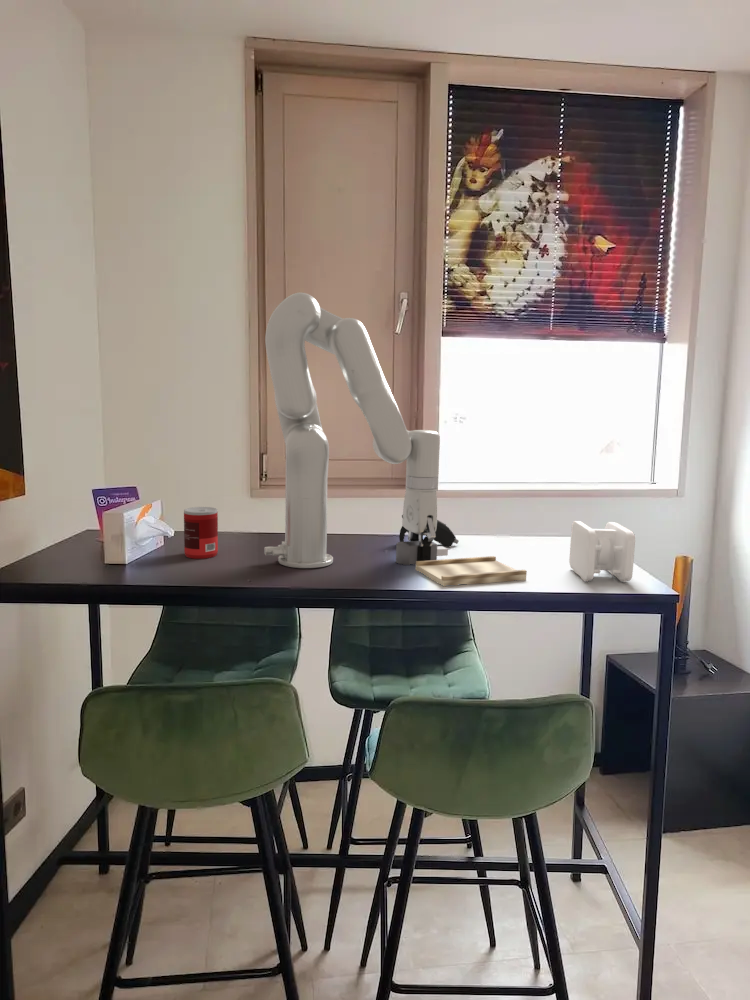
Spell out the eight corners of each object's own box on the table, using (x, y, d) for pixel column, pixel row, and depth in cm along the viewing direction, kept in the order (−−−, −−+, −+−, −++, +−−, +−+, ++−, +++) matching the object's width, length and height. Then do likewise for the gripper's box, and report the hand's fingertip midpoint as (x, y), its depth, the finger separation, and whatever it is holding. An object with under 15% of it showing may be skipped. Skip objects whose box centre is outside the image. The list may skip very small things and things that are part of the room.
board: (443, 586, 147) (443, 577, 147) (415, 569, 160) (415, 561, 159) (526, 579, 154) (526, 570, 154) (493, 564, 167) (493, 556, 167)
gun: (444, 567, 185) (463, 534, 184) (390, 538, 184) (408, 505, 183) (443, 565, 188) (462, 532, 187) (390, 535, 187) (408, 503, 186)
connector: (400, 565, 164) (400, 546, 163) (392, 560, 168) (393, 542, 167) (448, 562, 168) (449, 543, 167) (440, 557, 172) (441, 539, 171)
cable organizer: (566, 567, 166) (570, 518, 165) (611, 568, 166) (615, 519, 165) (585, 584, 152) (589, 531, 150) (634, 586, 152) (639, 532, 150)
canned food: (220, 551, 172) (220, 507, 170) (214, 559, 164) (213, 512, 163) (188, 551, 172) (188, 506, 170) (180, 558, 164) (180, 512, 162)
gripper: (393, 479, 171) (390, 553, 174) (422, 489, 156) (419, 569, 158) (421, 478, 174) (418, 551, 177) (453, 488, 158) (449, 567, 161)
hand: (419, 559), depth 168 cm, fingers closed on connector, 4 cm apart
